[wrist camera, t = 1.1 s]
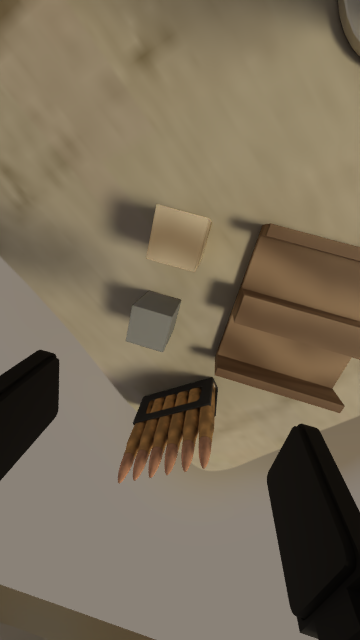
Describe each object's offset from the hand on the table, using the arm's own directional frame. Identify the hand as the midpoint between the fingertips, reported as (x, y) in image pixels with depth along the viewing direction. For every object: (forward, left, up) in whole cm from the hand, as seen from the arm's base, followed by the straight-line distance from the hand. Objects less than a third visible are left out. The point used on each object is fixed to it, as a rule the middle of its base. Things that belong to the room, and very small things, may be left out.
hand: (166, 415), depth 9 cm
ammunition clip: (+14, +1, -20) cm, 24 cm away
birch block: (-6, -3, -20) cm, 20 cm away
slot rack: (-1, +11, -20) cm, 22 cm away
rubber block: (+3, -4, -20) cm, 20 cm away
